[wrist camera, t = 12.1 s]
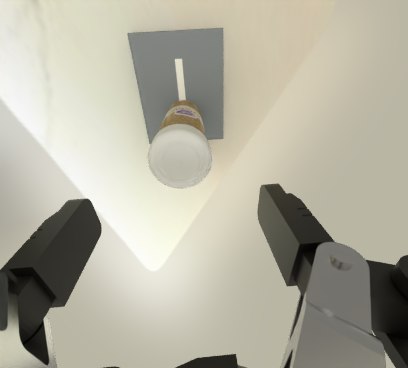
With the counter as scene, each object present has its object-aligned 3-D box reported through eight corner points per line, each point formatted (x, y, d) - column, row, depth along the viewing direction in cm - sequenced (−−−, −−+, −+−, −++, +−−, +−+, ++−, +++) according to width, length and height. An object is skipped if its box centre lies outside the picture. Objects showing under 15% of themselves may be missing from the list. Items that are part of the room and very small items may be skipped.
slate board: (130, 34, 22) (127, 33, 21) (221, 29, 22) (223, 27, 21) (151, 141, 28) (149, 144, 27) (221, 136, 28) (223, 138, 27)
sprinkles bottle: (200, 98, 24) (211, 127, 13) (202, 134, 27) (213, 188, 15) (162, 101, 24) (139, 133, 13) (168, 137, 26) (153, 193, 15)
